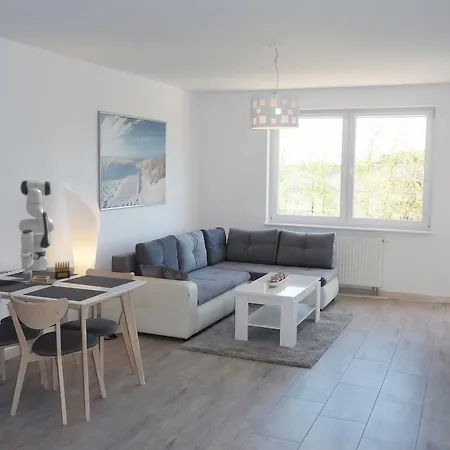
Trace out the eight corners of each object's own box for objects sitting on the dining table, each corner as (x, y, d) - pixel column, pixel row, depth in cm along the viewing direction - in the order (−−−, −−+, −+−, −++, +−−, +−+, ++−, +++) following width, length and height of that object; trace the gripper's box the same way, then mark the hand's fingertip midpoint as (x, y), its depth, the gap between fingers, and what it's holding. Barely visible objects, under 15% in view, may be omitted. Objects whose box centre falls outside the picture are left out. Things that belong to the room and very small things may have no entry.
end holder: (30, 280, 412) (29, 275, 412) (56, 280, 414) (56, 275, 414) (24, 285, 396) (24, 279, 396) (52, 285, 398) (52, 279, 398)
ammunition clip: (69, 277, 425) (69, 260, 423) (70, 277, 423) (70, 261, 422) (54, 278, 420) (54, 261, 418) (55, 279, 418) (55, 262, 417)
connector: (24, 278, 416) (24, 270, 415) (32, 278, 416) (31, 270, 416) (23, 280, 412) (23, 271, 411) (30, 280, 412) (30, 271, 412)
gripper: (26, 251, 422) (26, 270, 423) (19, 255, 401) (20, 275, 403) (35, 251, 422) (35, 270, 424) (29, 255, 402) (29, 275, 404)
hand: (28, 273), depth 413 cm, fingers open, 8 cm apart
